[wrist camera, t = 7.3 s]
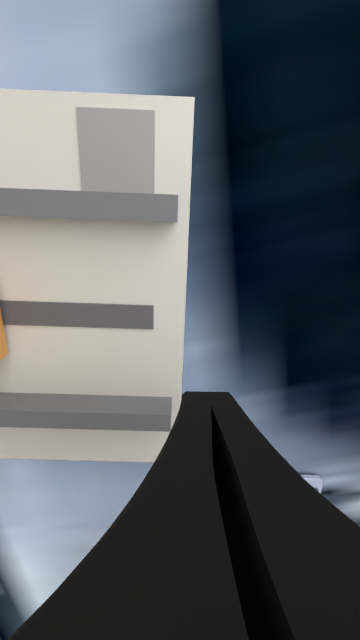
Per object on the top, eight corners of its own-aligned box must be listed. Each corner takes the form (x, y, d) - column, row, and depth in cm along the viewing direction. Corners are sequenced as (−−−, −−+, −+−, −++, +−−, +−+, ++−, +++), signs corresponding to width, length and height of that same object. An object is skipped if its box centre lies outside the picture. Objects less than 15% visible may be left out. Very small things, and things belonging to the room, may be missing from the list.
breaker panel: (178, 433, 21) (178, 484, 17) (-38, 427, 21) (-86, 478, 17) (191, 113, 14) (196, 83, 11) (-121, 100, 14) (-227, 65, 11)
